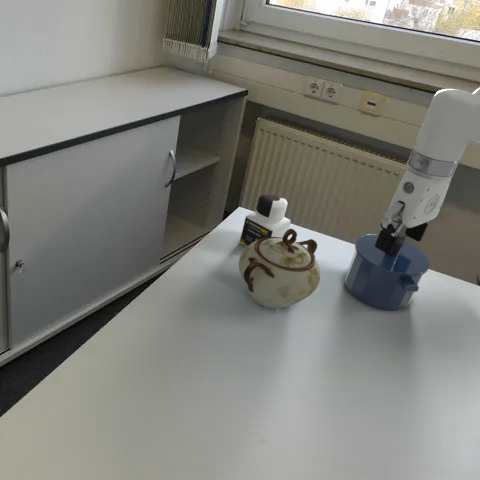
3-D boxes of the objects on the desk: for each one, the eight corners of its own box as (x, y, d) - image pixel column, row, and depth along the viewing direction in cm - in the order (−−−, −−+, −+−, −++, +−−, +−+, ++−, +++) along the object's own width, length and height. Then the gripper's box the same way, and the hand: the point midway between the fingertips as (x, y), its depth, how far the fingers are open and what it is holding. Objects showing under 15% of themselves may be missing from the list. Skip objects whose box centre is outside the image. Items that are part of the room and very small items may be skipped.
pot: (385, 265, 118) (399, 232, 113) (428, 320, 103) (447, 285, 98) (330, 263, 117) (342, 229, 112) (365, 318, 102) (381, 283, 97)
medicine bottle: (238, 242, 121) (250, 195, 114) (257, 233, 125) (269, 187, 118) (265, 257, 117) (278, 209, 110) (283, 247, 121) (297, 200, 114)
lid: (405, 240, 112) (416, 217, 109) (441, 280, 101) (454, 255, 98) (342, 237, 111) (351, 213, 108) (372, 278, 99) (382, 252, 96)
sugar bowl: (275, 261, 116) (293, 200, 107) (333, 301, 106) (358, 237, 97) (208, 290, 105) (222, 224, 97) (265, 336, 95) (286, 267, 87)
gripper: (424, 180, 88) (388, 266, 97) (479, 162, 96) (440, 242, 105) (384, 162, 93) (353, 245, 102) (439, 146, 101) (406, 224, 111)
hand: (397, 243), depth 104 cm, fingers open, 9 cm apart
